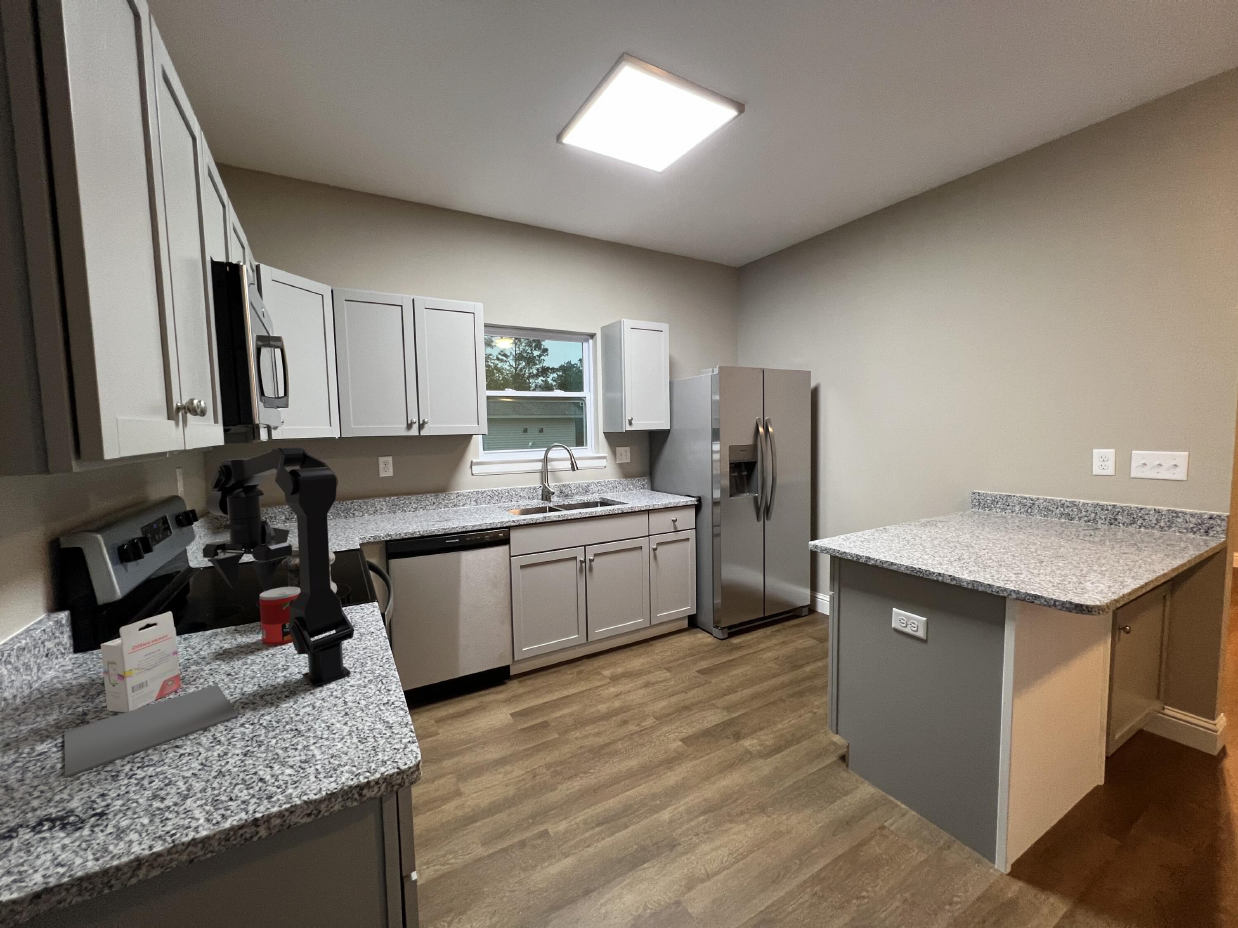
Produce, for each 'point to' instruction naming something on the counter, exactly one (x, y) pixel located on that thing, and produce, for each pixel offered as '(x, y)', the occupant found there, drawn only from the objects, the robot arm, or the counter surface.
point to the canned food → (276, 614)
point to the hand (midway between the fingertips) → (250, 589)
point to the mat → (144, 728)
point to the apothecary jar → (294, 570)
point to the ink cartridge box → (141, 664)
